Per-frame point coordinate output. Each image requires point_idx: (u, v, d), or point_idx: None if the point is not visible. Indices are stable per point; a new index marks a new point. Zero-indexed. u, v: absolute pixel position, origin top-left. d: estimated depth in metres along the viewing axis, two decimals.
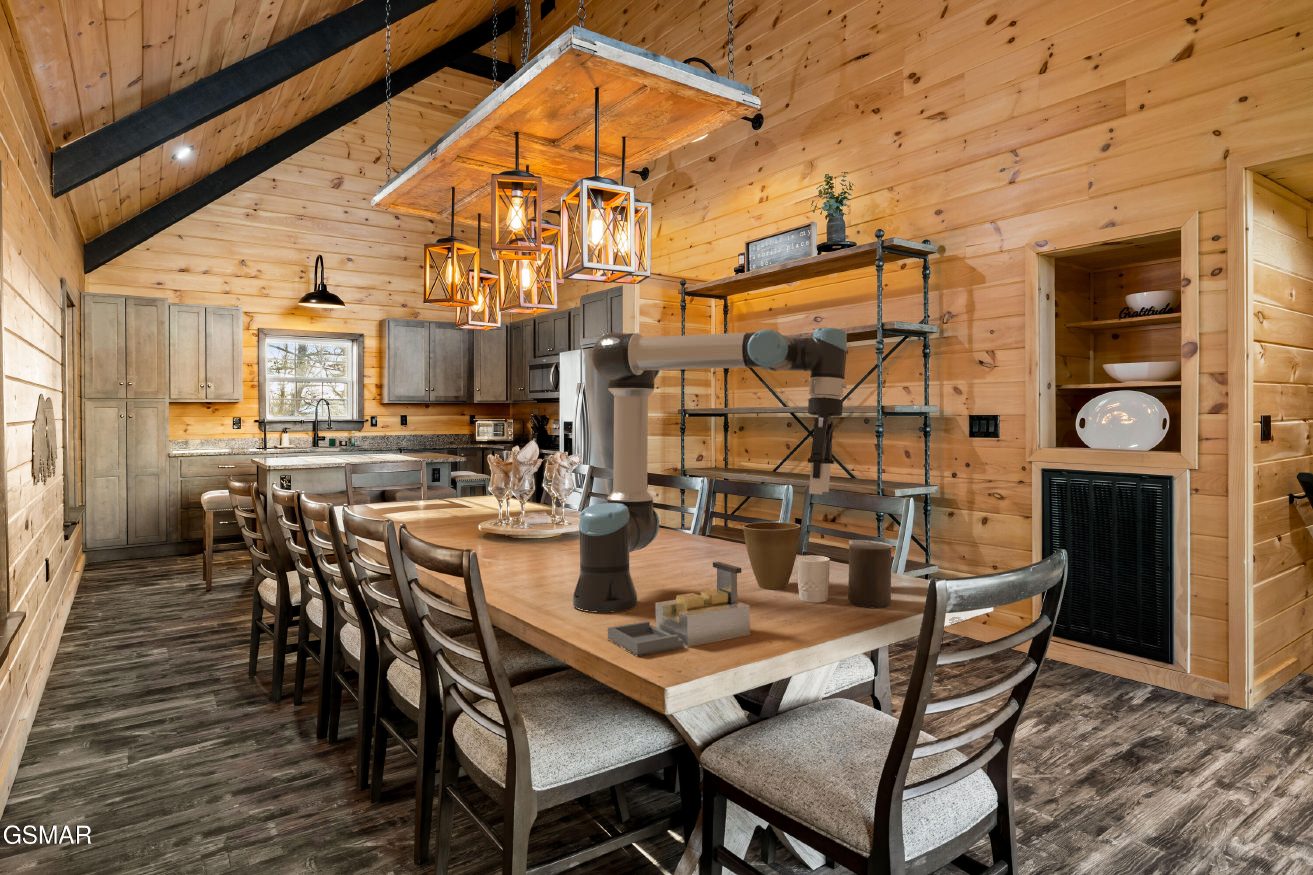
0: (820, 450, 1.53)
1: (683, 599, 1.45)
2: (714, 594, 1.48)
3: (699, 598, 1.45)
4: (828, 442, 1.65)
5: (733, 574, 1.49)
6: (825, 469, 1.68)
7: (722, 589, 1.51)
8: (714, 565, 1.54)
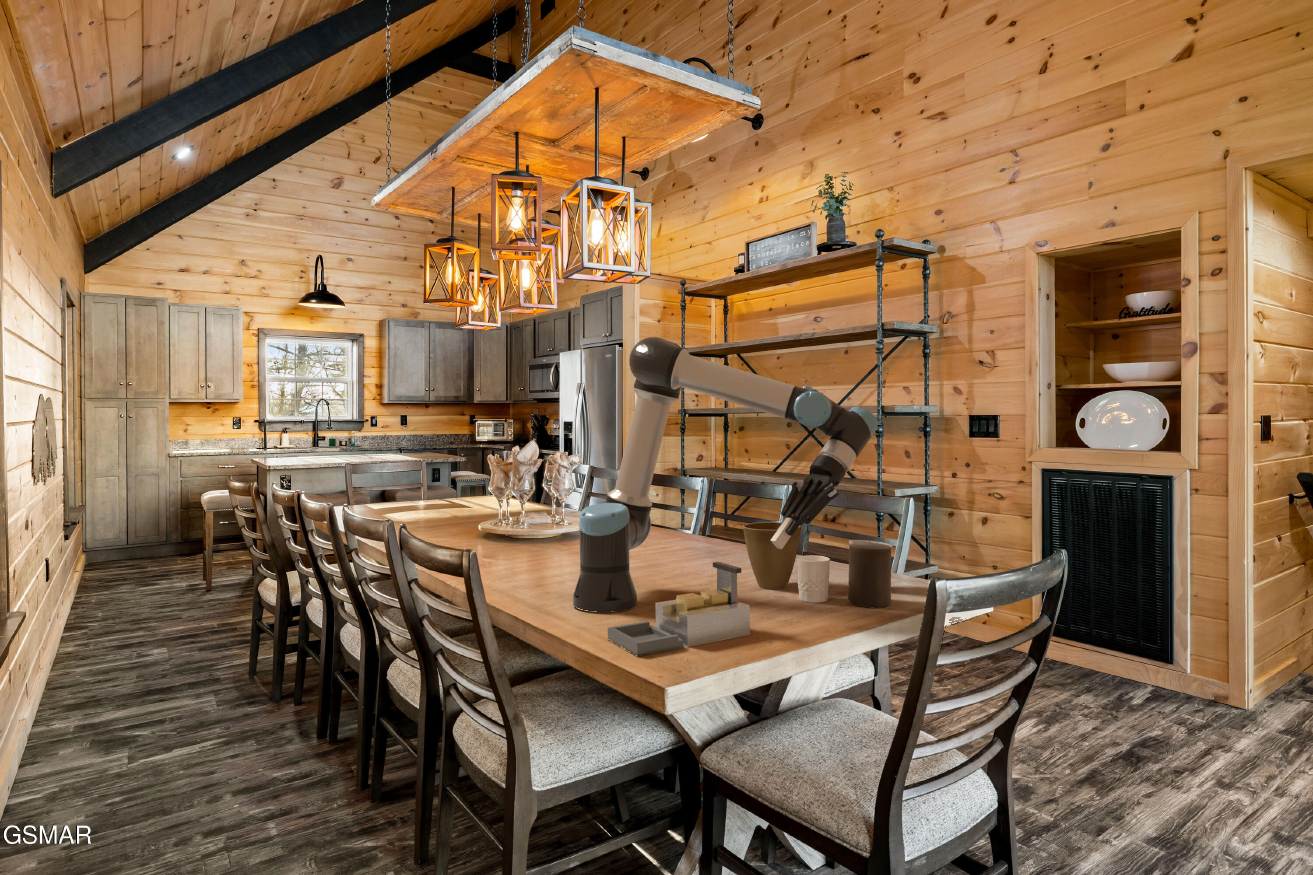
0: (812, 516, 1.57)
1: (683, 599, 1.45)
2: (714, 594, 1.48)
3: (699, 598, 1.45)
4: None
5: (733, 574, 1.49)
6: None
7: (722, 589, 1.51)
8: (714, 565, 1.54)
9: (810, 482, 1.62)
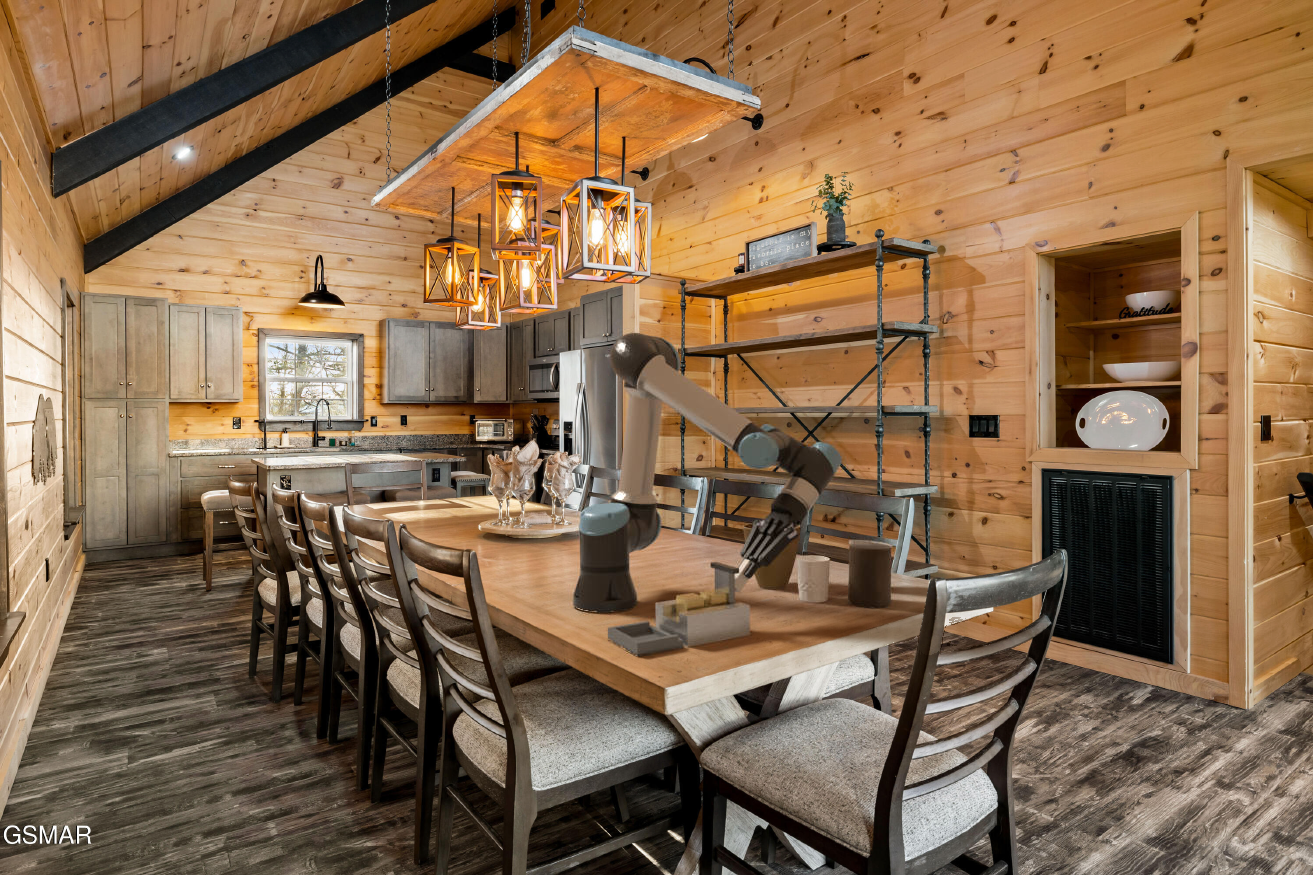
0: (771, 559, 1.51)
1: (683, 599, 1.45)
2: (714, 594, 1.48)
3: (699, 598, 1.45)
4: None
5: (731, 574, 1.49)
6: None
7: (720, 589, 1.51)
8: (712, 565, 1.53)
9: (770, 521, 1.57)
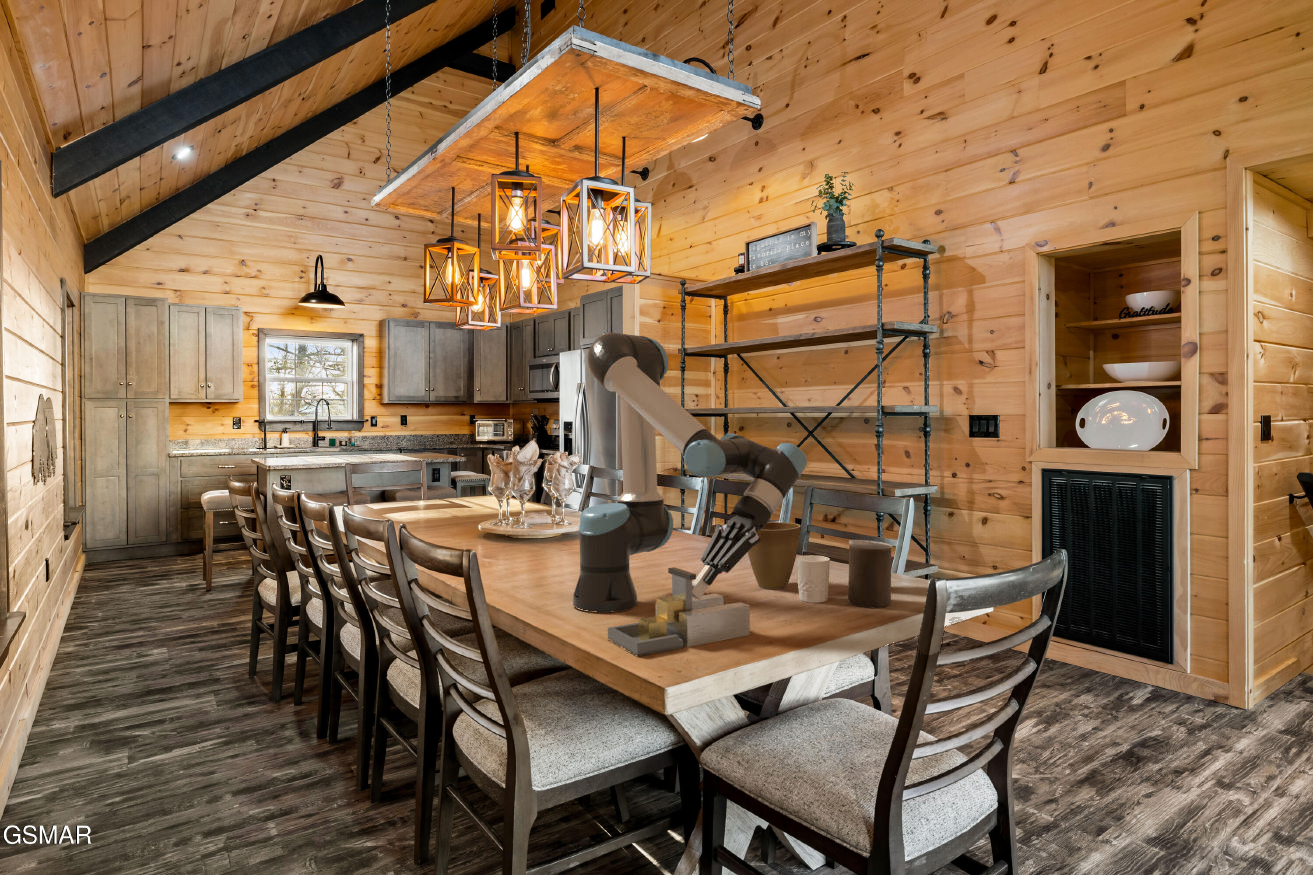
0: (732, 564, 1.46)
1: None
2: (670, 601, 1.42)
3: (649, 628, 1.40)
4: None
5: (688, 580, 1.43)
6: None
7: (677, 596, 1.46)
8: (669, 571, 1.48)
9: (732, 525, 1.51)
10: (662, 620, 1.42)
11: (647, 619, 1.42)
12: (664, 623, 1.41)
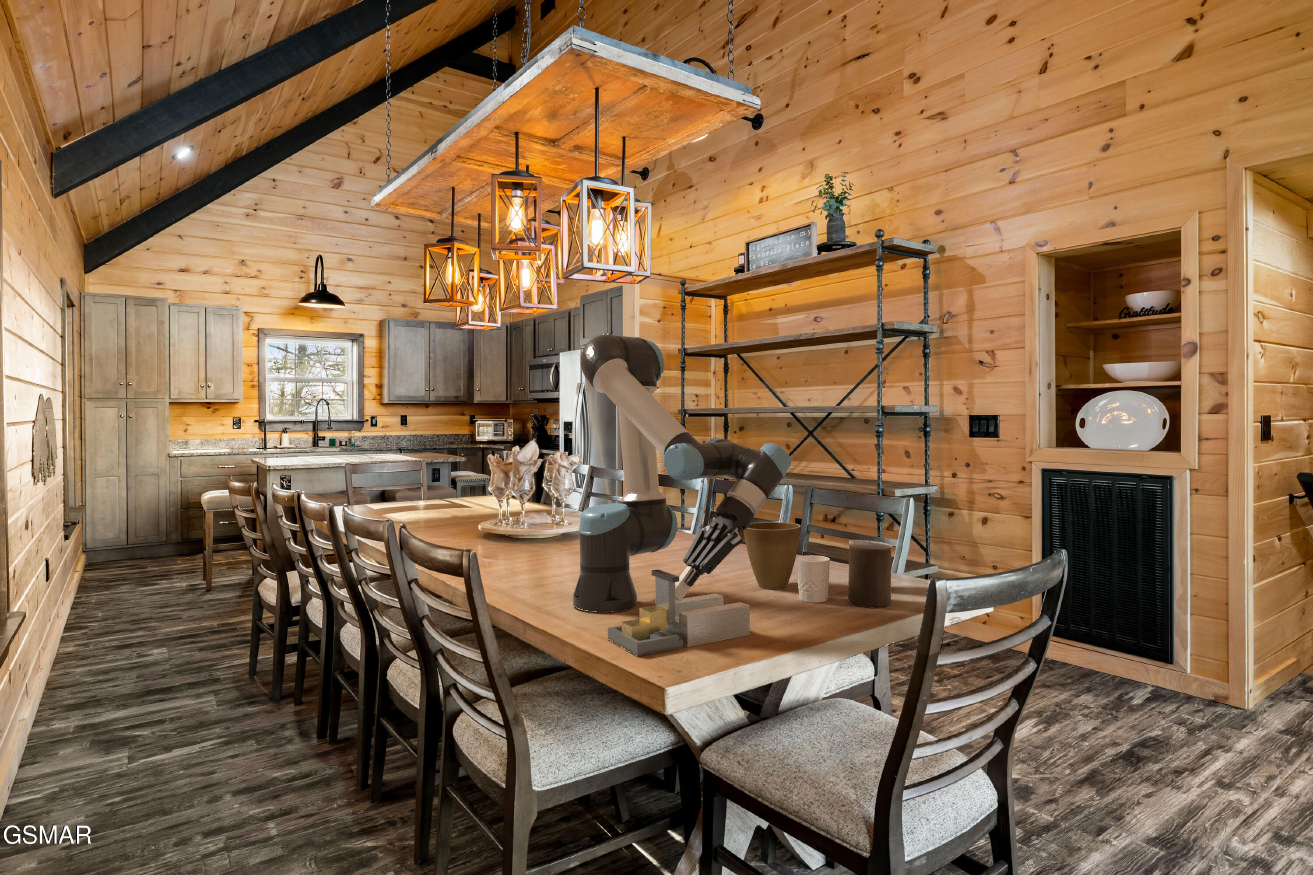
0: (714, 565, 1.44)
1: None
2: (652, 611, 1.40)
3: (632, 631, 1.38)
4: None
5: (671, 583, 1.41)
6: None
7: (661, 598, 1.44)
8: (653, 573, 1.46)
9: (714, 526, 1.50)
10: (645, 623, 1.40)
11: (630, 622, 1.40)
12: (647, 626, 1.39)
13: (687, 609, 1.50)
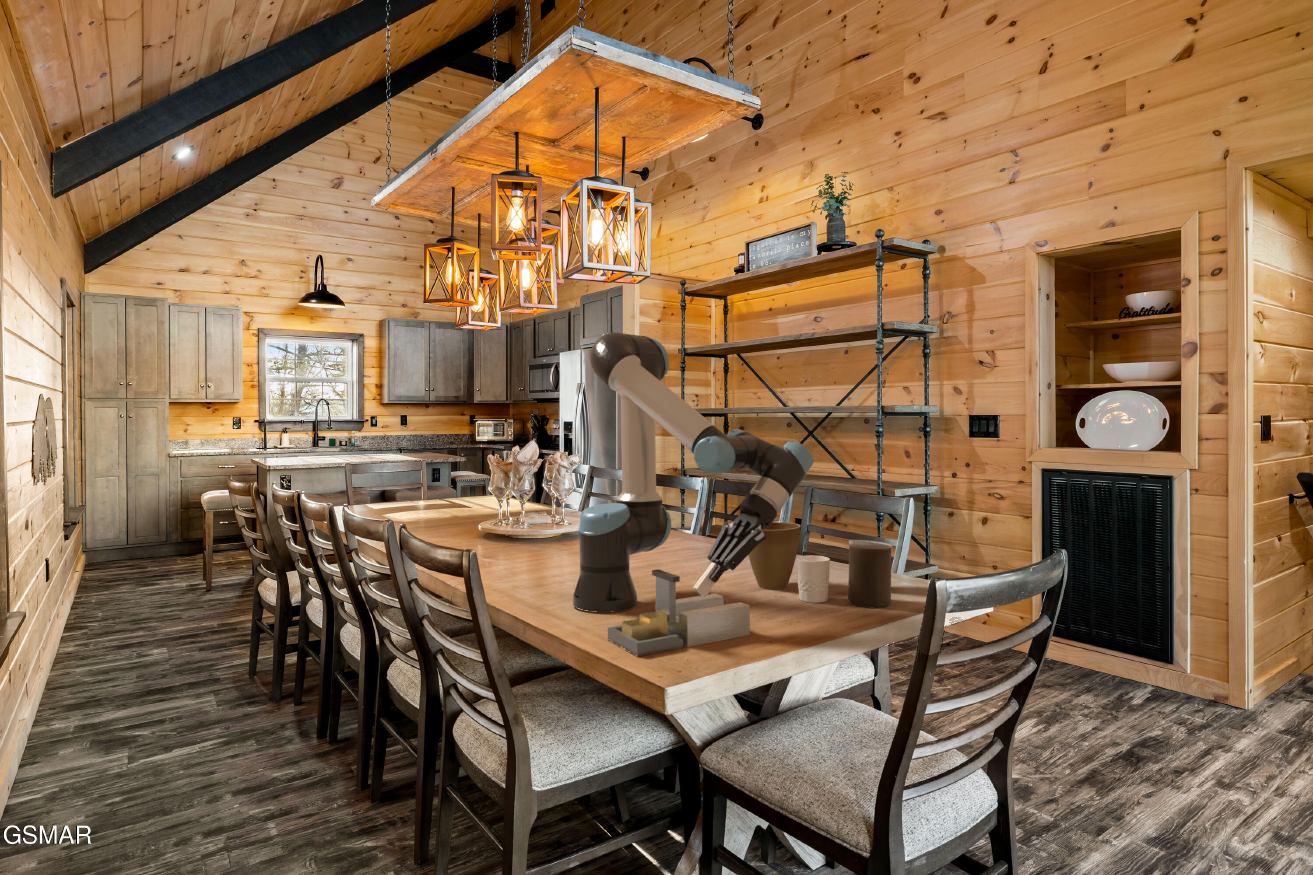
0: (737, 562, 1.47)
1: None
2: (653, 617, 1.41)
3: (632, 631, 1.38)
4: None
5: (671, 583, 1.41)
6: None
7: (661, 598, 1.44)
8: (653, 573, 1.46)
9: (738, 523, 1.53)
10: (645, 623, 1.40)
11: (630, 622, 1.40)
12: (647, 626, 1.39)
13: (687, 609, 1.50)
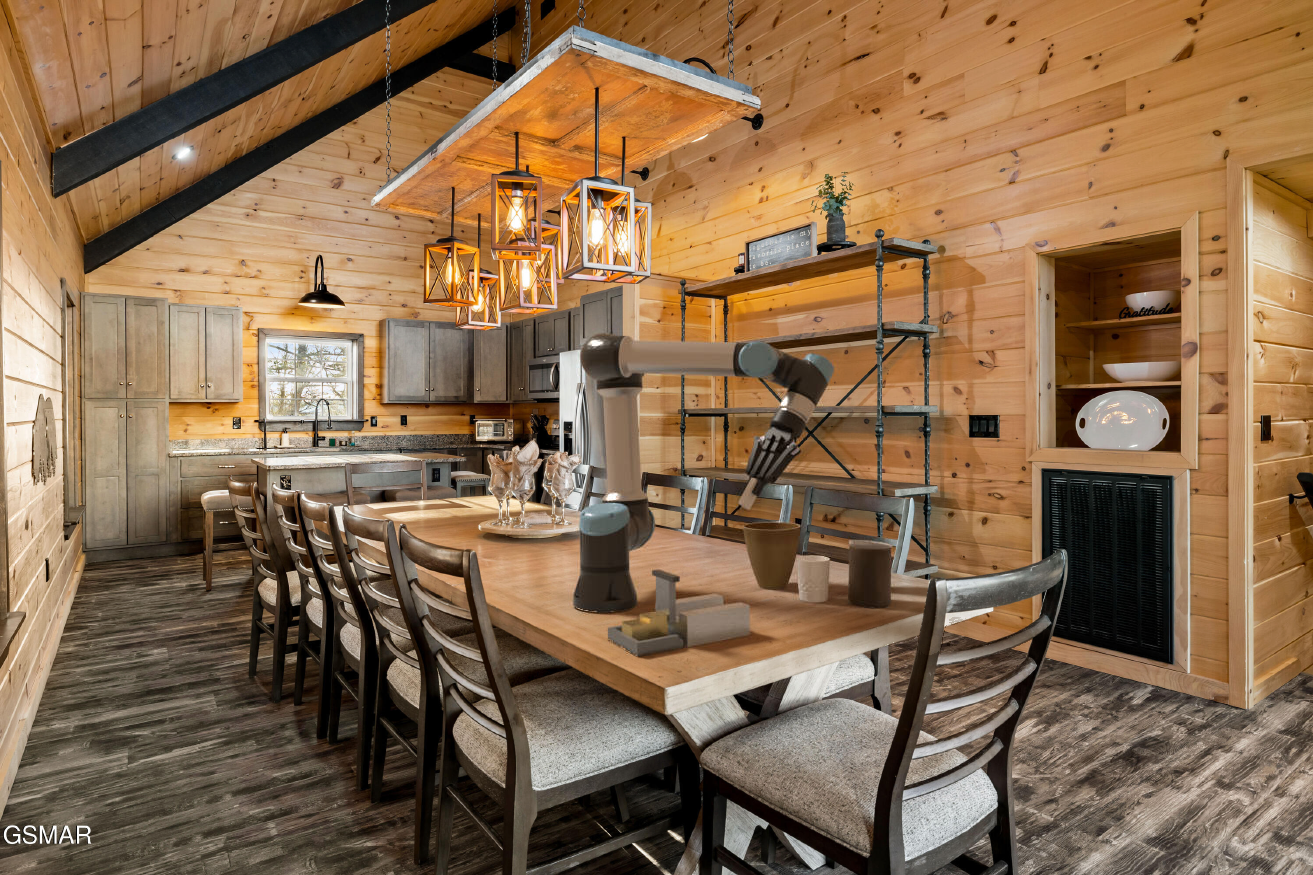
0: (777, 476, 1.60)
1: None
2: (653, 617, 1.41)
3: (632, 631, 1.38)
4: None
5: (671, 583, 1.41)
6: None
7: (661, 598, 1.44)
8: (653, 573, 1.46)
9: (771, 438, 1.63)
10: (645, 623, 1.40)
11: (630, 622, 1.40)
12: (647, 626, 1.39)
13: (687, 609, 1.50)
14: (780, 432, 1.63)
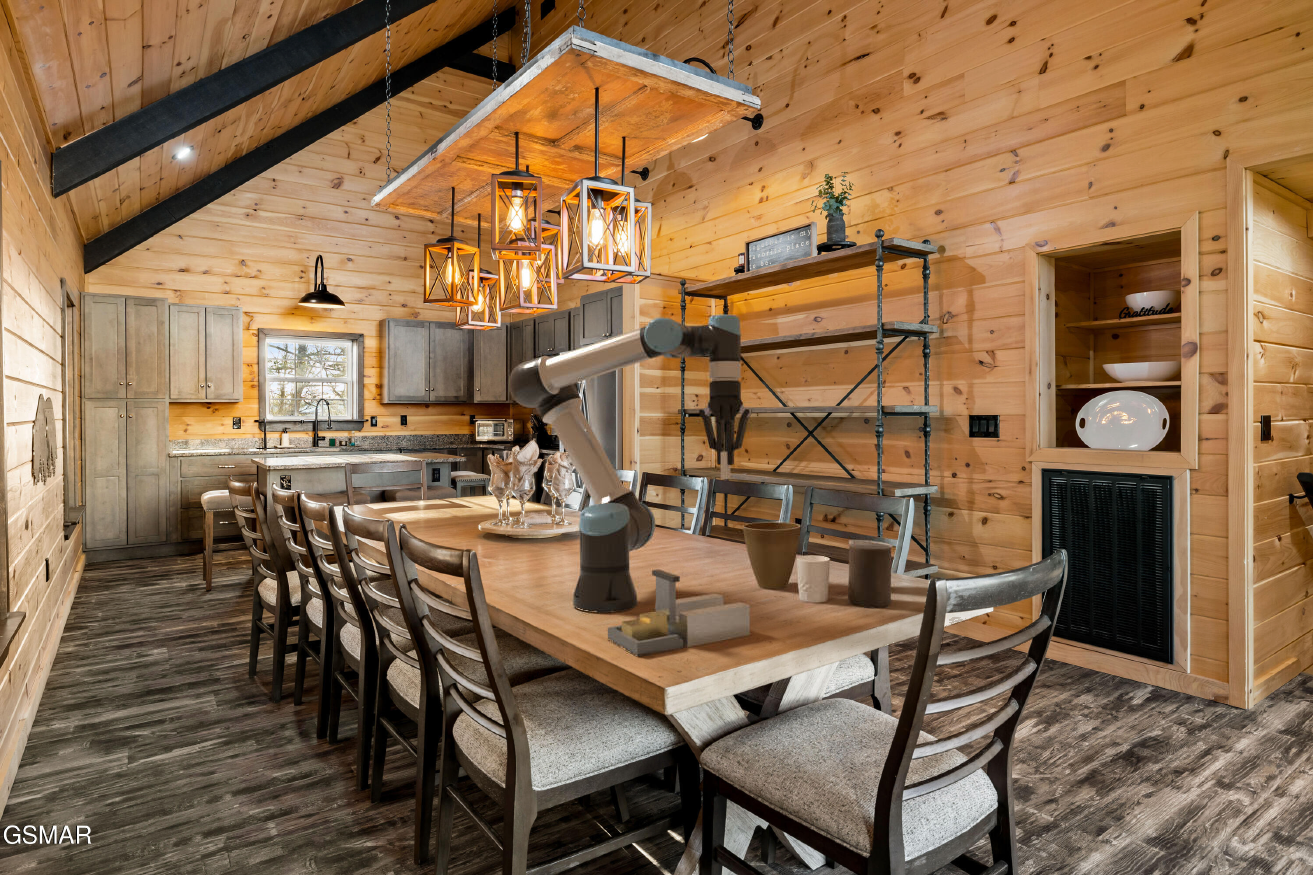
0: (742, 441, 1.73)
1: None
2: (653, 617, 1.41)
3: (632, 631, 1.38)
4: (723, 423, 1.75)
5: (671, 583, 1.41)
6: None
7: (661, 598, 1.44)
8: (653, 573, 1.46)
9: (720, 409, 1.73)
10: (645, 623, 1.40)
11: (630, 622, 1.40)
12: (647, 626, 1.39)
13: (687, 609, 1.50)
14: (724, 400, 1.73)
